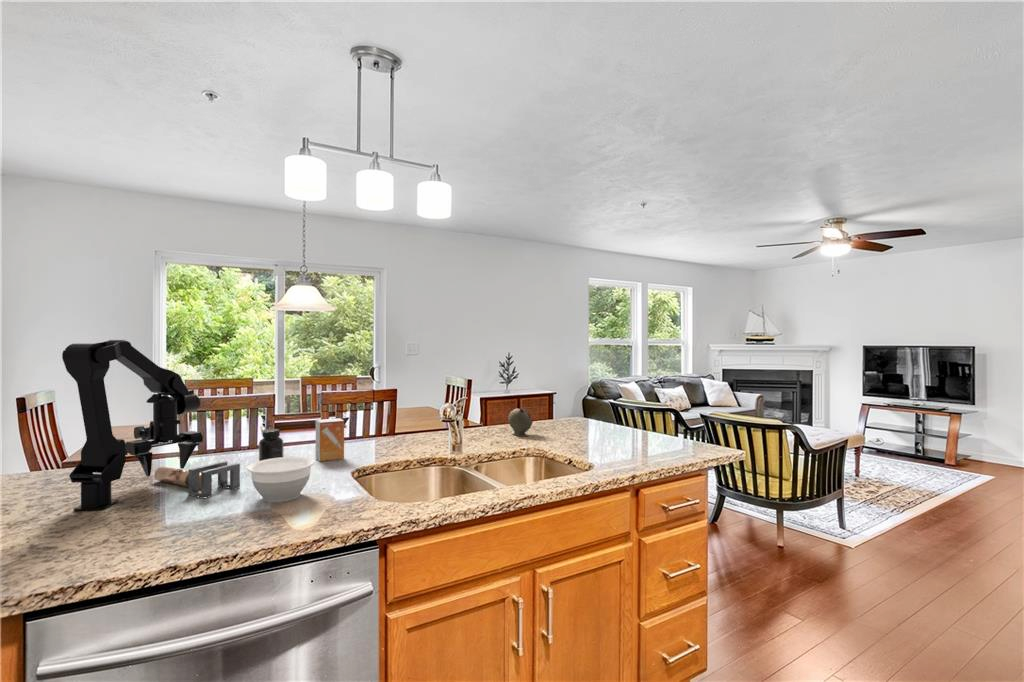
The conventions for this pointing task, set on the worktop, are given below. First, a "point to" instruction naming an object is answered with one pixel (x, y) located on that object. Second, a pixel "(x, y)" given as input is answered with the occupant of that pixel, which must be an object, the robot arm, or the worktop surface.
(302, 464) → the bowl
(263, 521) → the worktop surface
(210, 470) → the collar bracket
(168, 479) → the brown rounded cylinder
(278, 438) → the supplement bottle
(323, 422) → the small box
